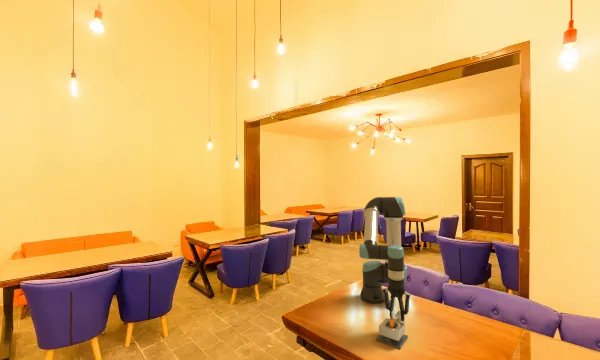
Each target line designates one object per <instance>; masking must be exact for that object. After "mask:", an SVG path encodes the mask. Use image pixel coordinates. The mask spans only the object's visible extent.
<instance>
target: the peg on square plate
mask: <svg viewBox="0 0 600 360" xmlns="http://www.w3.org/2000/svg"><path fill="white" fill-rule="evenodd" d="M389 319H390V327H391V328H394V319H393V318H390V317H389ZM408 336H409V335H406V334H405V333H404V334H403V336H402V337H401V338H400V340H399V341H397V340H394V339H391V338H388V337H385V336H382V335H380V334H378V336H377V337H376V339H375V340H376V341H377V342H379V343H383V344H385V345H388V346H390V347H393V348H394V349H395V348H396V349H399V350H401V349H402V347H403V345H405V343H406V341H407V340H408V339H409V337H408Z"/></svg>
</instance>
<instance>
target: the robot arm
mask: <svg viewBox="0 0 600 360" xmlns="http://www.w3.org/2000/svg"><path fill="white" fill-rule="evenodd" d="M363 216H364V231H363V233H364V234H363V236H364V237H363V244H360V245H359V246H358V247H359V253H358V254H359V257H360V258H361V259H365V260H368V261H365V262H363V264H362V288H361V290H360V291H361V292H360V300H361V301H363V302H366V303H368V304H381V303H383V302H384V303H385V309H386V310H388V311H389V319H390V318H392V317H393V316H394V315H395V314H396V310H394V307H395V299H397V301H398V305H399V311H400V314H399V322H401V323H403V321H404V320H406V318H405V317H406V316H405V315H408V313H409V310H410V298H411V296H412V294H411V293H409V292H407V291H406V289H405V284H406V281H407V273H408V266H407V265H405V253H404V247H403V246H402V234H401V231H402V225H401V223H402V222H401V221H402V220H403V218H404V216H406V208H405V203H404V199H403V198H402V197H399V196H398V197H397V196H388V197H387V196H385V197H384V196H382V197H381V196H377V197H374V198H372V199H370V200H369V201H368V202H367V203H366V205H365V206H364V210H363ZM380 216H383V219H384V220H385V223H386V245H385V244H384V245H382V244H379V243H378V240H379V239H378V238H379V237H378V233H379V231H378V229H379V227H378V226H379V222H378V221H379V217H380ZM380 260H383V261H384V263H382V261H380ZM382 284H387V285H388V286H387V287H384V288H383V285H382ZM389 294H390V296H389ZM403 296H404V297H405V300H403ZM389 297H390V298H389Z"/></svg>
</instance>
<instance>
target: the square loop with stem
mask: <svg viewBox="0 0 600 360" xmlns="http://www.w3.org/2000/svg"><path fill="white" fill-rule="evenodd" d="M399 314H400V310H398V311H397V312H395V315H394V316H393V317H392V318H393V319H394V328H391V327H390V318H386V317H385V319H384V320H383V321H382V322H381V323H380V324H379V325H378V335H382V336H385V337H388V338H391V339H394V340H397V341H399V340H400V338H401V337H402V336H403V334H404V335H405V333H406V326H405V325H406V324H405V323H406V322H405V320H406V319H405V320H404V321H403V323H401V322H399Z"/></svg>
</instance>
